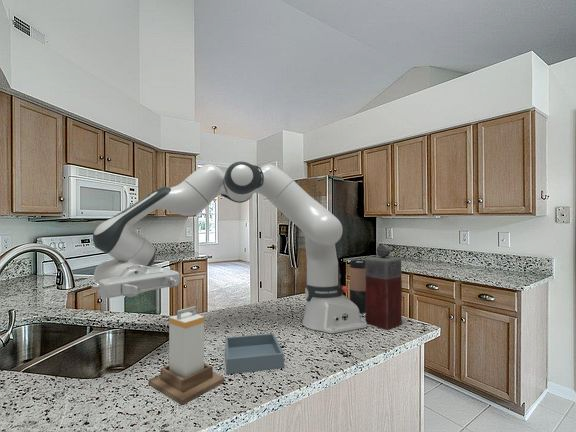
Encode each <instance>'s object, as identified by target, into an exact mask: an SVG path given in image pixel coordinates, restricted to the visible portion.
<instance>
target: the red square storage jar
mask: <svg viewBox="0 0 576 432" xmlns="http://www.w3.org/2000/svg"><path fill="white" fill-rule="evenodd" d="M376 253H377V256H370V257H367V258H365V260H366V313H365V321H366V322H367V325H370V326H373V327H376V328H379V329H382V330H385V331H389V330H392V329H394V328H397V327H399V326H401V325H402V316H403V315H402V309H403V308H402V302H403V299H402V297H403V294H402V293H403V291H402V290H403V288H402V287H403V286H402V285H403V284H402V283H403V280H402V259H401V258H400V257H393V256H389V255H390V254H391V248H390V246H389V245H387V244H380V245H378V246H377V247H376Z"/></svg>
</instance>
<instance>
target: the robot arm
mask: <svg viewBox="0 0 576 432" xmlns="http://www.w3.org/2000/svg"><path fill="white" fill-rule="evenodd" d="M254 193H255V194H259V195H262V196H263V197H265V198H266V199H267V200H268V201H269V202H270V203H271V204H272V205H273V206H274V207H275V208H276V209H277V210H279V212H281V213H282V214H283V215H284V216H285V217H286V218H287V219H288V220H289V221H290V222H291V223H292V224H294V225H295V226H296V227H297V228H298V229H299V230H300V231H302V232H303V234H304V243H305V246H304V247H305V255H306V256H305V257H306V258H305V259H306V283H305V289H304V291H305V292H304V294H305V295H304V296H305V297H304V298H305V309H304V315H303V320H302V322H301V323H302V325H303V326H304V327H305V328H307V329H309V330H313V331H320V332H323V333H328V334H337V333H340V332H341V333H342V332H348V331H354V330H358V329H363V328H364V329H365V328H367V327H368V324H367V322H366V319H365V318H363V317H361V313H360V312H359V309H358V307H357V305H356V304H354V303H353V302H352V301H351V300H350V298H348V297H347V296H346V295H345V294H344V293H348V292H349V288H348V287H347V286H345V285H342V284H340V283H339V260H338V257H337V256H338V255H337V249H336V243H338V242H339V241H340V240H341V238H342V235H343V231H344V229H343V225H342V223H341V221H340V220H339V218H338V217H336V216H335V215H334V214H333V213H332V212H331V211H330V210H328V209H327V208H326V207H324V206H323V205H322V204H321V203H319V202H318V201H317V200H316V199H315V198H313V197H312V196H311V195H310V194H308V193H307V192H306V191H305V190H304V189H303V188H302V187H301V186H300V185H299V184H298V183H297V182H296V181H295V180H294V179H293V178H292V177H291V176H289V175H288V174H287V173H286V172H284V171H283V170H282V169H280V168H279V167H277V166H276V165H274V164H270V163H269V164H265V165H263V166H262V167H260V166H258V165H254V164H251V163H249V162H245V161H236V162H234V163H232V164H230V165H229V166H228V168H227V169H226V171H224V170H222V169H221V168H219V167H218V166H217V165H214V164H211V163H208V164H203V165H202V166H200V167H199V168H197V169H196V170H195V171H194V172H192V173H191V174H190V175H189V176H187V177H186V178H185V179H184V180H183V181H182V182H180V183H179V184H177V185H175V186H171V187H169V186H162V187H159V188H158V189H156V190H154V191H152V192H151V193H148V194H147V195H145V196H143V197H142V198H140V199H139V200H138V201H136V202H135V203H133V204H132V205H130V206H129V207H127V208H125V209H124V210H122V211H121V212H120V213H118V214H116V215H114V216H111V217H110V218H109V219H106V220H105V221H103V222H101V223H100V224H99V225H98V226H97V227H96V228H95V229H94V230H93V233H92V240H93V245H94V247H95V248H96V249H98V250H100V251H101V252H103V253H105V254H107V255H109V256H110V257H112V259H110V260H106V261H103V262H101V263H99V264H98V265H97V266H96V267H95V270H94V272H93V277H94V278H93V279H94V282H95V284H93V285H91V289H92V290H94V291H97V294H98V295H99V296H100V297H102V298H105V299H111V298H116V297H122V296H123V297H126V298H133V297H137V296H139V295H140V294H143V293H145V292H149V291H153V290H160V289H165V288H174V287H176V288H177V286H179V285H180V281H181V276H180V275H181V274H180V272H178V271H176V270H173V269H169V268H164V267H162V266H161V265H158V264H157V265H155V264H154V262H155V259H156V255H157V254H156V253H157V251H156V246H155V244H154V243H151V242H150V241H149V240H148V239H147V238H145V237H144V236H142V235H141V234H140V233H139V232H137V231H136V230H135V229H134V228H132V226H133V225H134V224H136V223H137V222H138V221H140V220H141V219H143V218H145V217H146V216H147V215H148V214H150V213H151V212H153V211H157V210H166V211H169V212H172V213H175V214H177V215H181V216H185V217H191V216H196V215H198V214H200V213H201V212H202V211H204V210H205V209H206V208H207V207H208V206H209V205H210V204H211V203H212V202H213V200H215V198H217V197H219V196H220V195H221V197H223V198H226V199H228V200H230V201H231V202H234V203H238V204H240V203H245V202H247V201H249V200H250V199H251V198H252V197H253V195H254Z"/></svg>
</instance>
